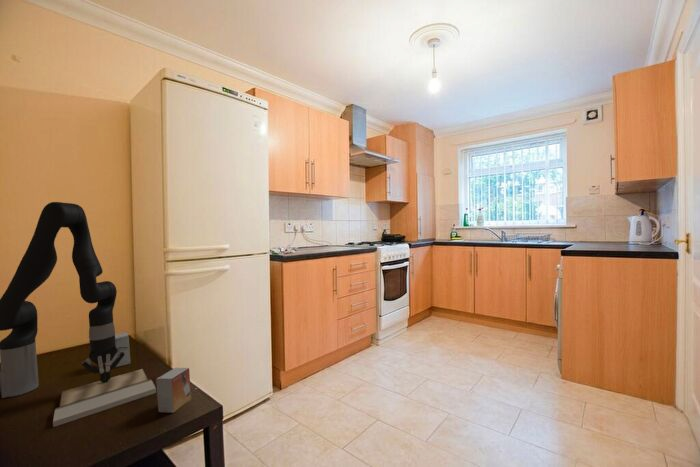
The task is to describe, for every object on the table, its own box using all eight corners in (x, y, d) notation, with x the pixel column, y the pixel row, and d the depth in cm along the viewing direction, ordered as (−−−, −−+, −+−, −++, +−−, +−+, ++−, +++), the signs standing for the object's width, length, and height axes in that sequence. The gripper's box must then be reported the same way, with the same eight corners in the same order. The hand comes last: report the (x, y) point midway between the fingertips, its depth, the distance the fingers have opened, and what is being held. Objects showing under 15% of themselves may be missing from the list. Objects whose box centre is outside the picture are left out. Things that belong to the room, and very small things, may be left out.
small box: (173, 413, 94) (171, 379, 94) (157, 412, 96) (155, 378, 95) (192, 399, 102) (189, 367, 102) (177, 398, 103) (175, 367, 103)
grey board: (53, 427, 91) (52, 421, 91) (55, 413, 99) (55, 408, 99) (156, 392, 108) (155, 388, 108) (151, 383, 116) (151, 379, 116)
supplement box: (109, 369, 132) (107, 339, 132) (109, 364, 138) (107, 335, 138) (130, 363, 137) (128, 335, 137) (129, 359, 142) (127, 331, 142)
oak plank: (60, 411, 100) (59, 406, 100) (62, 396, 111) (62, 391, 111) (148, 383, 116) (147, 379, 116) (142, 372, 126) (142, 368, 126)
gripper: (123, 329, 123) (126, 372, 124) (78, 338, 115) (82, 384, 115) (125, 333, 118) (128, 378, 118) (78, 343, 109) (82, 392, 109)
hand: (105, 381), depth 116 cm, fingers closed
